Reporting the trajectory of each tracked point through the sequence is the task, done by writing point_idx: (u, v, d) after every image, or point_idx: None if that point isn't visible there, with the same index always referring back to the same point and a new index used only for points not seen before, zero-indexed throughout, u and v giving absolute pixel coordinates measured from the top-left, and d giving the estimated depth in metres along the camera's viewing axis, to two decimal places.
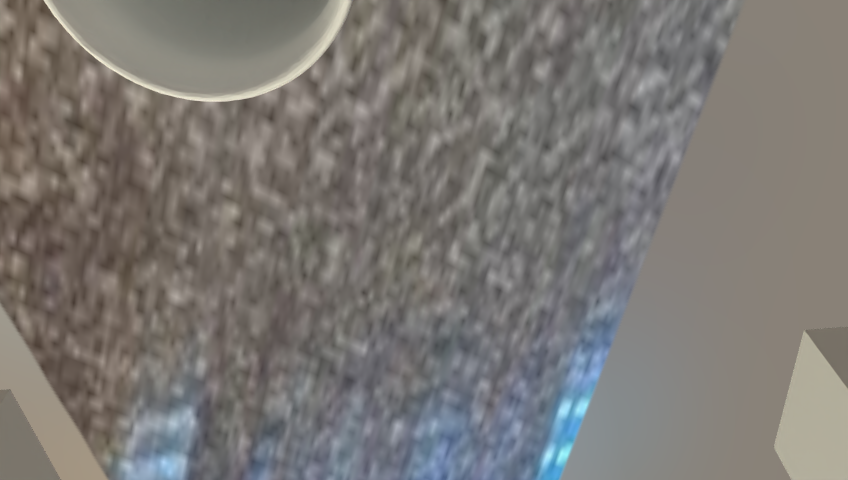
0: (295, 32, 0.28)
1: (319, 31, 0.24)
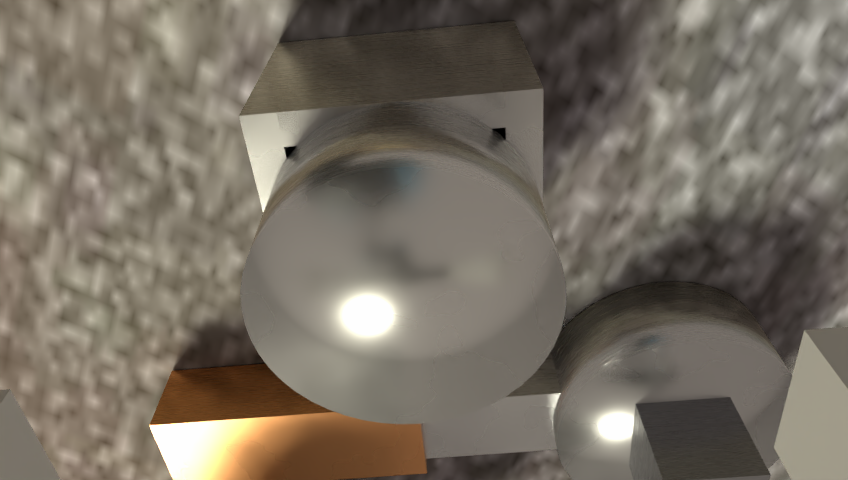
0: None
1: None
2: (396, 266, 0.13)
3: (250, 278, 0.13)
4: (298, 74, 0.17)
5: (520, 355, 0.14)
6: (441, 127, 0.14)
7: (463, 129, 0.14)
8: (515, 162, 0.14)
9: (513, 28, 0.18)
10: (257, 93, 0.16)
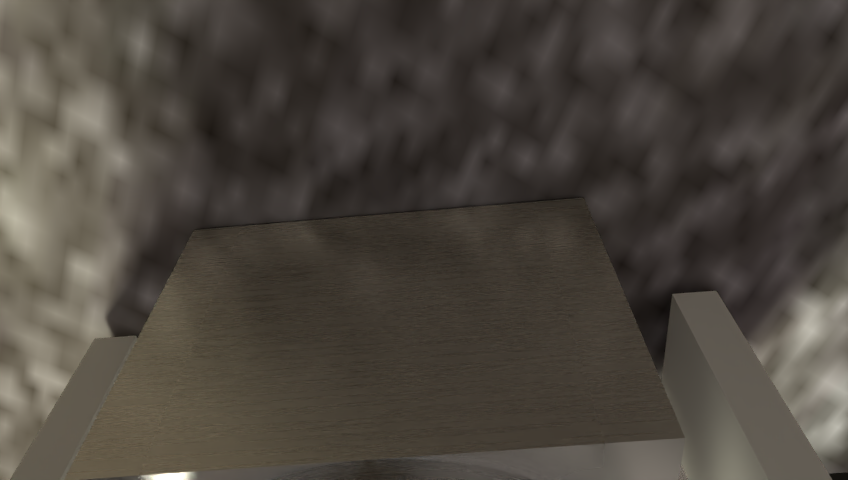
0: None
1: None
2: None
3: None
4: (207, 330, 0.09)
5: None
6: None
7: None
8: None
9: (586, 219, 0.11)
10: (120, 395, 0.08)
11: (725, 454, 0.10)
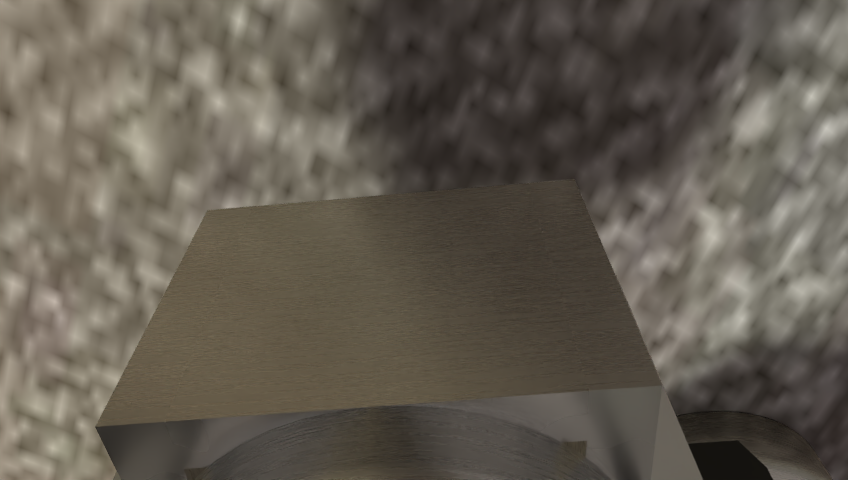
0: None
1: None
2: None
3: None
4: (223, 297, 0.10)
5: None
6: None
7: None
8: None
9: (576, 198, 0.11)
10: (143, 355, 0.09)
11: None
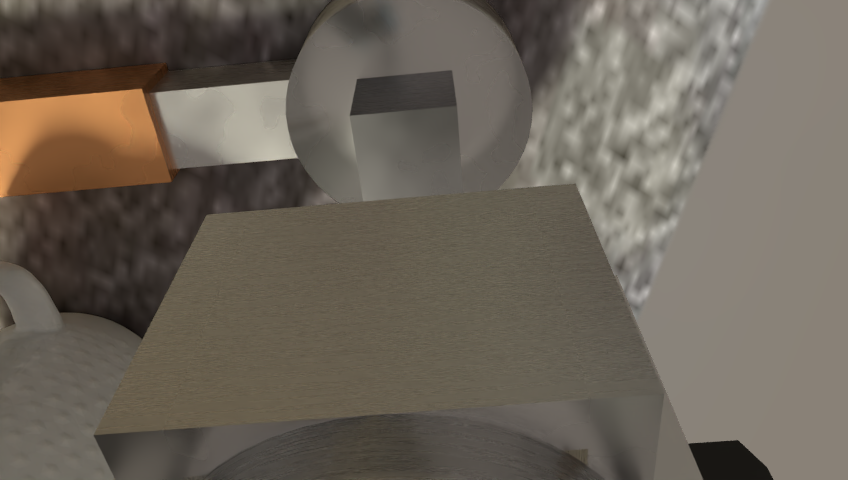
0: None
1: None
2: None
3: None
4: (221, 303, 0.10)
5: None
6: None
7: None
8: None
9: (577, 203, 0.11)
10: (142, 362, 0.09)
11: None
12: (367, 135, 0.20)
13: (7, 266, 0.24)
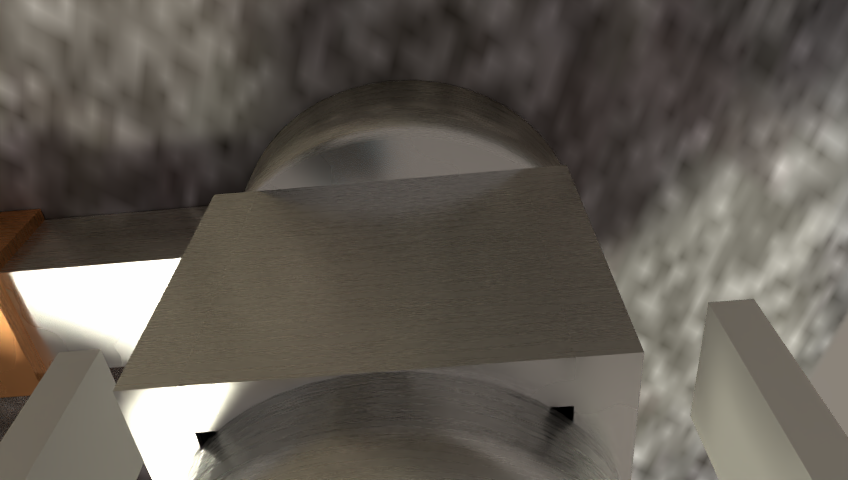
0: None
1: None
2: None
3: None
4: (231, 275, 0.10)
5: None
6: (466, 449, 0.07)
7: (505, 442, 0.08)
8: None
9: (567, 183, 0.12)
10: (157, 327, 0.09)
11: (771, 468, 0.10)
12: None
13: None
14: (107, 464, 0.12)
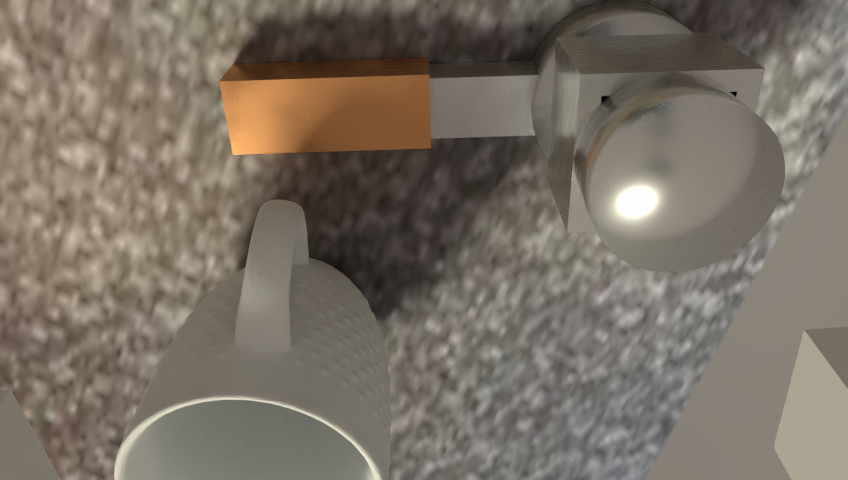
0: (324, 478, 0.34)
1: None
2: (691, 162, 0.23)
3: (605, 164, 0.23)
4: (592, 55, 0.26)
5: (746, 226, 0.24)
6: (713, 85, 0.23)
7: (722, 88, 0.24)
8: None
9: (716, 36, 0.28)
10: (578, 64, 0.25)
11: None
12: None
13: (300, 206, 0.31)
14: None
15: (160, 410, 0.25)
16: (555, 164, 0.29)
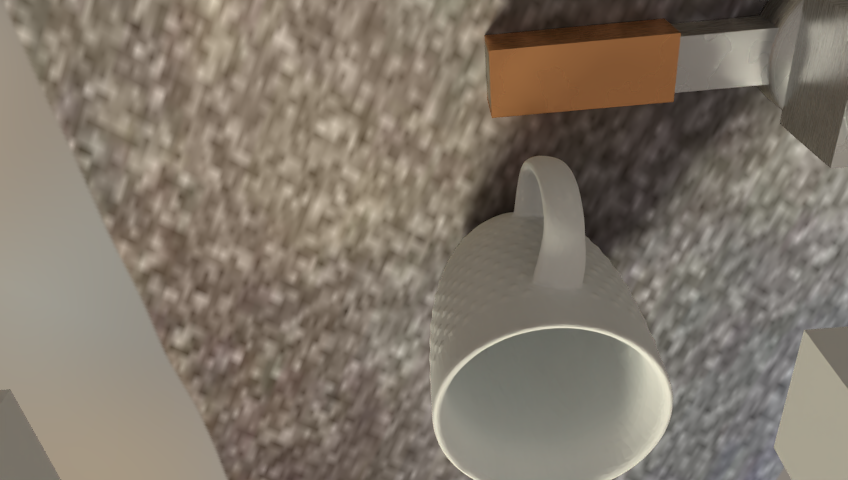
0: (572, 409, 0.38)
1: (622, 452, 0.34)
2: None
3: None
4: None
5: None
6: None
7: None
8: None
9: None
10: None
11: None
12: None
13: None
14: None
15: (489, 341, 0.29)
16: (802, 108, 0.32)
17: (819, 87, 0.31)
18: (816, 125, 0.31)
